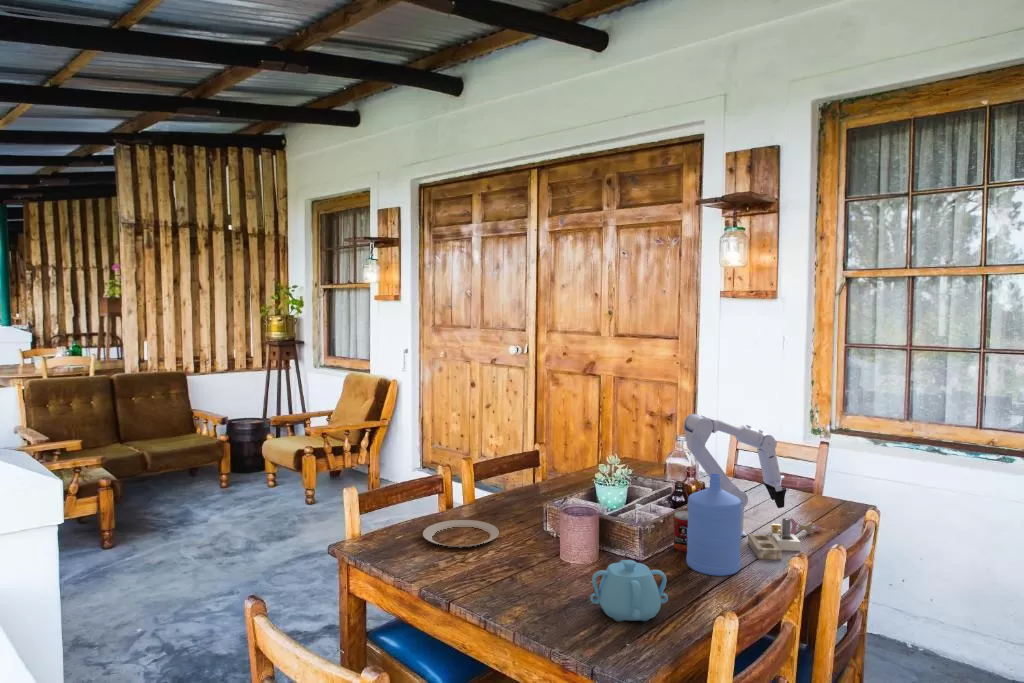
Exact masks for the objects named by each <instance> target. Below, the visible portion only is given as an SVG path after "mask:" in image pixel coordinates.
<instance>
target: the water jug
mask: <svg viewBox="0 0 1024 683" xmlns="http://www.w3.org/2000/svg"><path fill="white" fill-rule="evenodd" d="M720 477H721V475H719V474H710V477H709V478H710V479H709V487H707V488H704V489H702V490H698V491H696V492H693V493H691V494H690V495H689V496H688V497H687V511H688V528H687V552H686V565H687V566H688V567H689V568H690V569H692V570H693V571H695V572H698V573H700V574H702V575H703V574H704V575H708V576H714V577H715V576H716V577H725V576H731V575H734V574H737V573H738V572H739V571H740V569H741V564H742V562H741V543H742V536H741V515H742V506H741V504H742V503H741V500H740V499H739V498H738V497H736V496H734V495H732V494H730V493H728V492H726V491H724V490H722V489H721V488H720V483H721V481H720Z"/></svg>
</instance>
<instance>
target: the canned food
mask: <svg viewBox="0 0 1024 683" xmlns="http://www.w3.org/2000/svg"><path fill="white" fill-rule="evenodd" d="M673 516H674V517H673V546H674V549H676V550H678V551H680V552H685V553H687V528H688V510H679V511H676V512H674V515H673Z"/></svg>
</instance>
